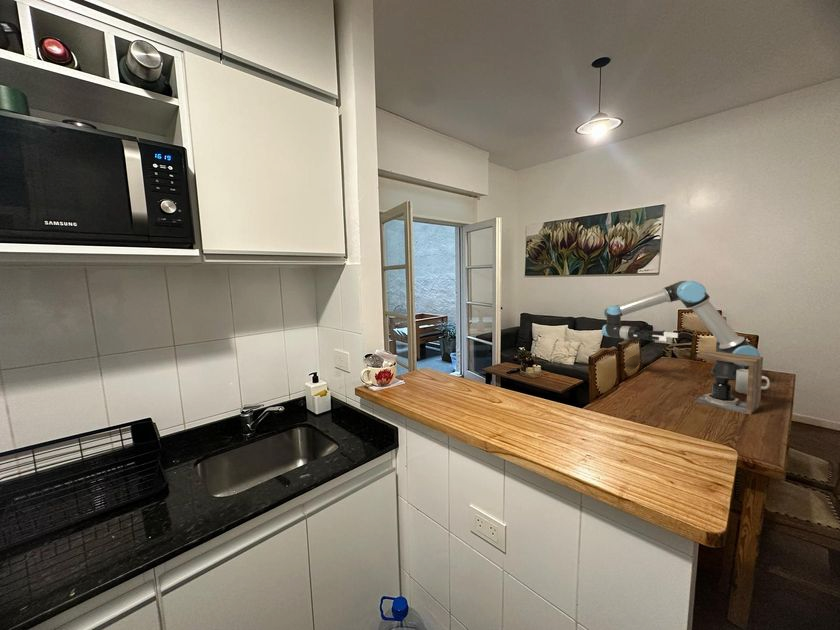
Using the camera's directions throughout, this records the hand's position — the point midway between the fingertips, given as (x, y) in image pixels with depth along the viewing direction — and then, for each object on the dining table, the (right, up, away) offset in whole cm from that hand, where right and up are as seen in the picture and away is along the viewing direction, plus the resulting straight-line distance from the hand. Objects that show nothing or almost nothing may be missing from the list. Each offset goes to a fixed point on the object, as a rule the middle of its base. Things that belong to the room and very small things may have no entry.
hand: (672, 337), depth 176 cm
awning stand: (+8, -30, -23) cm, 39 cm away
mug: (+32, -28, -11) cm, 44 cm away
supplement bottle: (+6, -29, -22) cm, 37 cm away
